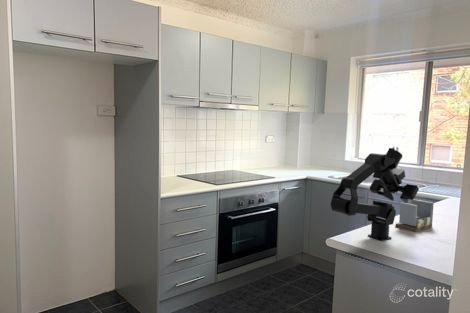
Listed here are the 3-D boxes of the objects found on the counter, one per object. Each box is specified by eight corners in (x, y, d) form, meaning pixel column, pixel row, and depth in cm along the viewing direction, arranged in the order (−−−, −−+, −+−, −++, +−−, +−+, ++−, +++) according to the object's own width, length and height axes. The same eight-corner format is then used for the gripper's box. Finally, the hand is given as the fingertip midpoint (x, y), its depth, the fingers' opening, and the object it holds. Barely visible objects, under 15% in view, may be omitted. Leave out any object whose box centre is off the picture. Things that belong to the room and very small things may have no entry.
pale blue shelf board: (420, 228, 150) (421, 206, 150) (399, 223, 158) (400, 202, 157) (424, 226, 153) (426, 205, 152) (403, 221, 160) (405, 201, 160)
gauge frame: (416, 232, 151) (416, 221, 150) (395, 226, 158) (395, 216, 158) (432, 226, 159) (433, 216, 159) (412, 222, 167) (412, 212, 166)
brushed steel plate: (430, 224, 158) (431, 203, 157) (410, 219, 165) (411, 199, 165) (432, 223, 159) (433, 202, 158) (412, 218, 167) (413, 198, 166)
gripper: (418, 164, 138) (430, 190, 145) (374, 160, 153) (387, 183, 161) (406, 186, 134) (419, 211, 142) (362, 179, 149) (376, 202, 157)
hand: (399, 201), depth 150 cm, fingers open, 6 cm apart
